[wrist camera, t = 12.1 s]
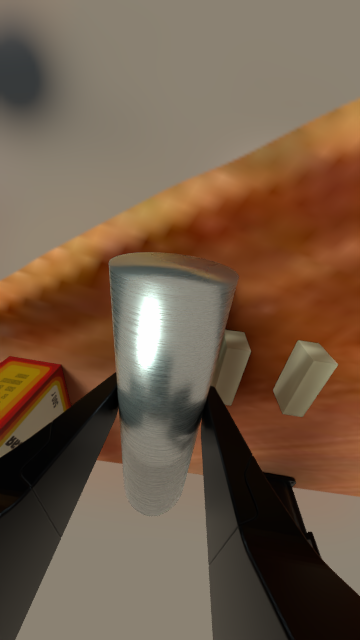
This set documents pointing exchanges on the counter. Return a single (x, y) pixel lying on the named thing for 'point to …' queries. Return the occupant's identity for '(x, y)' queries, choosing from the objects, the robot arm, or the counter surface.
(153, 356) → the axle
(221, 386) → the beam rails
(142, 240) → the counter surface
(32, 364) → the baking soda box
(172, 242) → the counter surface
